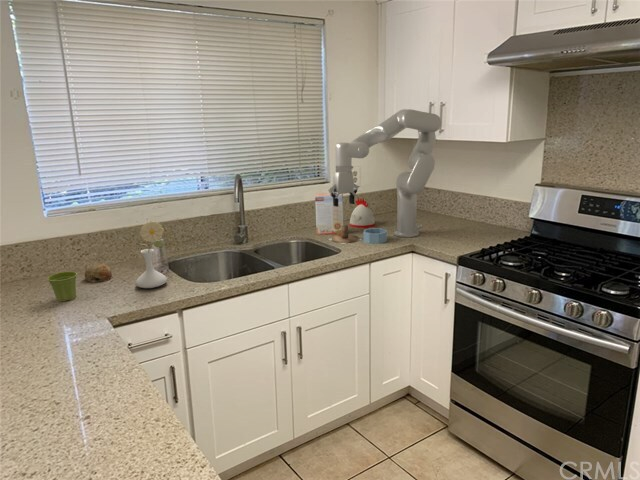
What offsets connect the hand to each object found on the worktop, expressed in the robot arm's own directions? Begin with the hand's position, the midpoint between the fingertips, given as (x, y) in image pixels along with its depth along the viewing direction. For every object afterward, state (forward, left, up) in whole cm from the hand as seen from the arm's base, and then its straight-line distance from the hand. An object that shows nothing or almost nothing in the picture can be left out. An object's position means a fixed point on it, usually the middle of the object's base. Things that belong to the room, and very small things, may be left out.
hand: (343, 204), depth 230 cm
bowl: (-10, +11, -18) cm, 23 cm away
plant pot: (+123, -4, -18) cm, 124 cm away
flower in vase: (+94, +3, -18) cm, 96 cm away
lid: (0, 0, -17) cm, 17 cm away
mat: (0, 0, -18) cm, 18 cm away
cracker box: (-2, -15, -18) cm, 23 cm away
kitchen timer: (-26, -18, -18) cm, 36 cm away
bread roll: (+109, -20, -18) cm, 112 cm away
